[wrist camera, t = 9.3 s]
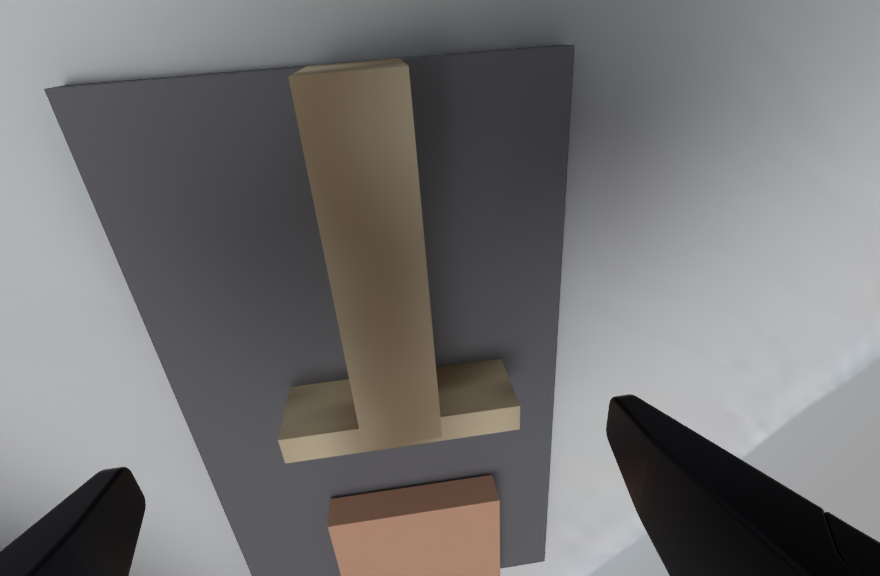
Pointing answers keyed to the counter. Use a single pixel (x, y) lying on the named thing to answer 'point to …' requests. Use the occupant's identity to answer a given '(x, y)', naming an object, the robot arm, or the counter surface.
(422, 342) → the beech scraper
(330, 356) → the charcoal mat
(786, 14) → the counter surface
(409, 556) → the terracotta tile
